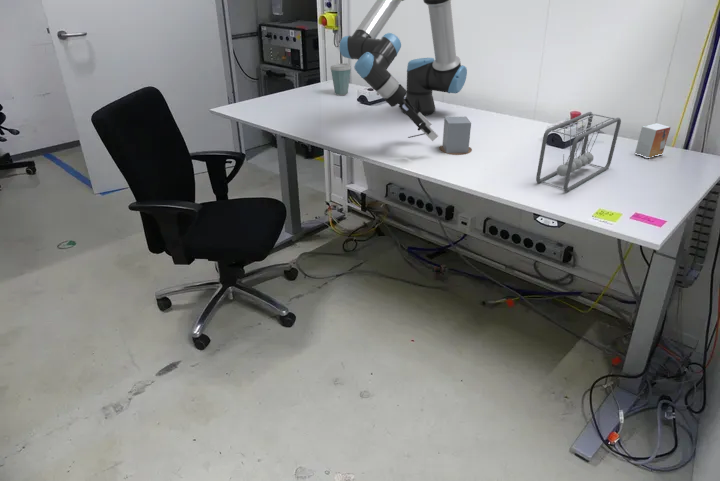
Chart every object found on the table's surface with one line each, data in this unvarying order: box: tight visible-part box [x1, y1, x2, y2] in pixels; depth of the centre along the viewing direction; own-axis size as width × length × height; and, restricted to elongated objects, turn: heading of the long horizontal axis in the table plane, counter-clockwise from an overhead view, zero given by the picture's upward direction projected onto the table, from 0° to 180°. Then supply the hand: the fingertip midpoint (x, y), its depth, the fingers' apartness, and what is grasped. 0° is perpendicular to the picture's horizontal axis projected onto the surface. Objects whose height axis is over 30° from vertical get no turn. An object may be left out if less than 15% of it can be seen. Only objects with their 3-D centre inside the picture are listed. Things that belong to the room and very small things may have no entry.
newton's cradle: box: [535, 111, 622, 193], centre depth 162 cm, size 30×10×18 cm, turn 132°
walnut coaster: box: [438, 145, 473, 156], centre depth 188 cm, size 12×12×1 cm
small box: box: [634, 122, 672, 157], centre depth 179 cm, size 8×6×10 cm
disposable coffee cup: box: [330, 62, 352, 96], centre depth 259 cm, size 11×11×15 cm
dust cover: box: [441, 116, 472, 154], centre depth 185 cm, size 8×8×11 cm
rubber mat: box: [407, 132, 426, 139], centre depth 199 cm, size 12×12×1 cm
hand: (432, 132), depth 184 cm, fingers open, 13 cm apart
